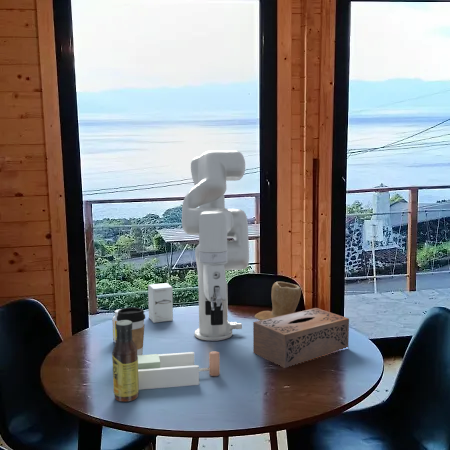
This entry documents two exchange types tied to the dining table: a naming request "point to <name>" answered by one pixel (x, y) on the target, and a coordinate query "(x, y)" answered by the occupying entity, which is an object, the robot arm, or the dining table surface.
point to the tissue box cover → (300, 336)
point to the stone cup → (282, 300)
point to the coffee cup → (134, 325)
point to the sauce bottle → (125, 364)
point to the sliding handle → (154, 362)
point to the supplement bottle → (115, 325)
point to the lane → (170, 372)
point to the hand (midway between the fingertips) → (213, 319)
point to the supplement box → (160, 302)
